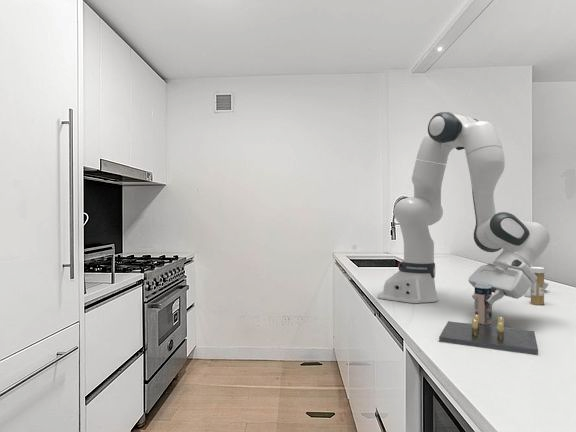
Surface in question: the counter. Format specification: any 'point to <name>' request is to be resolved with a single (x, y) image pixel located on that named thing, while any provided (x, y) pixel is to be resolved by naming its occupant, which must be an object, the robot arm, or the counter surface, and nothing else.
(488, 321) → the beer can
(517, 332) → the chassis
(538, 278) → the sprinkles bottle
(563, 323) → the counter surface
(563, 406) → the counter surface
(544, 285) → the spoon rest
